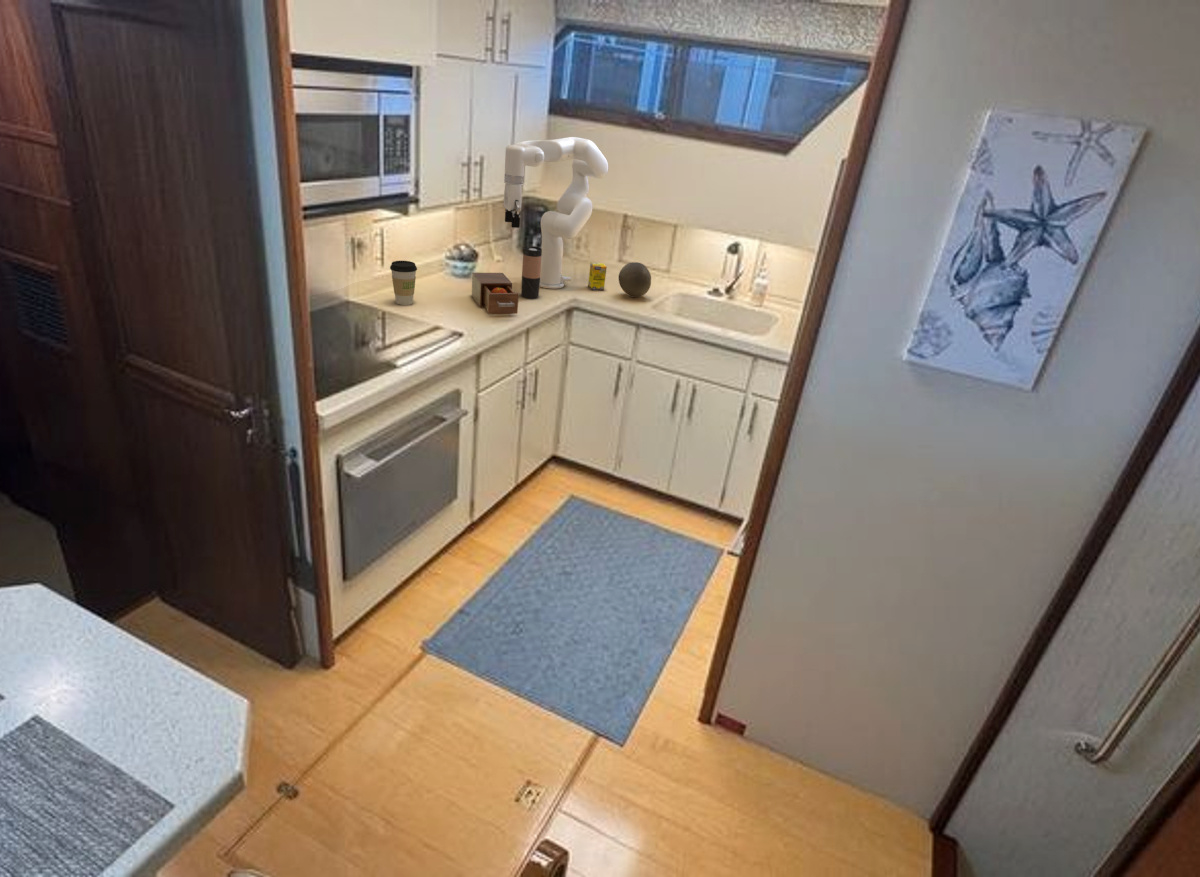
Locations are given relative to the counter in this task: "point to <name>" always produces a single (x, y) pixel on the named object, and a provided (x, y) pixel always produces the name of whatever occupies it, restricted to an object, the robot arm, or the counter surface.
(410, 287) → the coffee cup
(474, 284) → the cabinet
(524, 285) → the travel mug
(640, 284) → the dark grey ball
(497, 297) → the drawer
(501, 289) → the fruit
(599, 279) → the supplement box
